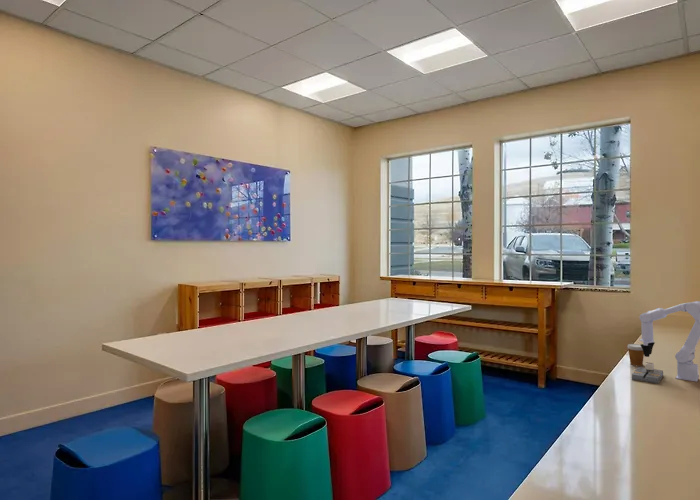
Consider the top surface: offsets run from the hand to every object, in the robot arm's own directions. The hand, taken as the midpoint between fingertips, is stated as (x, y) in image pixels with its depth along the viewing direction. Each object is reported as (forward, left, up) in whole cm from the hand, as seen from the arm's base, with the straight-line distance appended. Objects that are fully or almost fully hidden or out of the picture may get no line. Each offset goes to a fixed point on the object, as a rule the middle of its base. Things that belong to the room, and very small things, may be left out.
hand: (647, 355), depth 257 cm
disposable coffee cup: (+8, -12, -10) cm, 17 cm away
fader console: (-2, +15, -9) cm, 18 cm away
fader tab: (-2, +8, -8) cm, 12 cm away
